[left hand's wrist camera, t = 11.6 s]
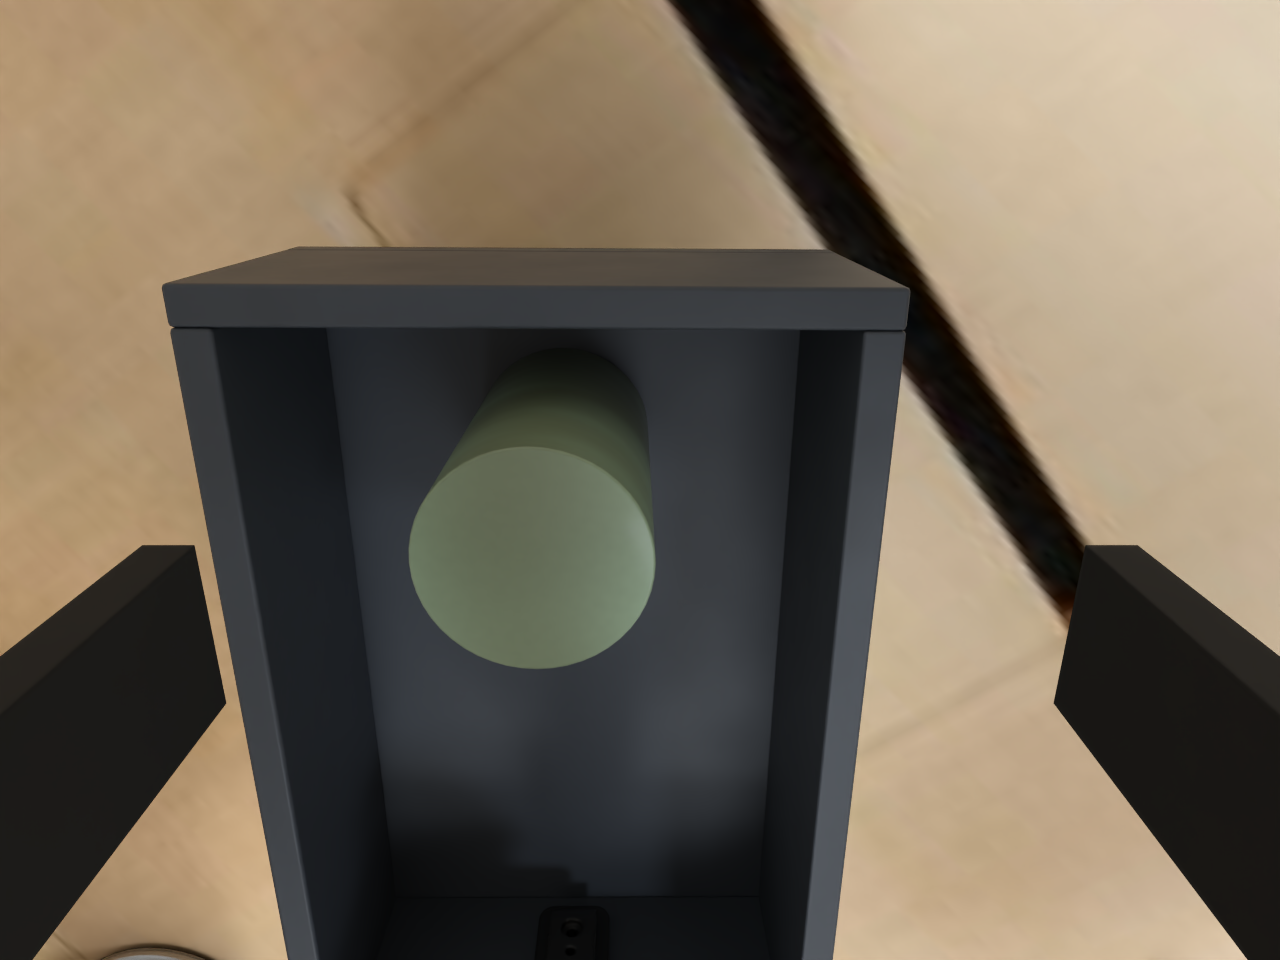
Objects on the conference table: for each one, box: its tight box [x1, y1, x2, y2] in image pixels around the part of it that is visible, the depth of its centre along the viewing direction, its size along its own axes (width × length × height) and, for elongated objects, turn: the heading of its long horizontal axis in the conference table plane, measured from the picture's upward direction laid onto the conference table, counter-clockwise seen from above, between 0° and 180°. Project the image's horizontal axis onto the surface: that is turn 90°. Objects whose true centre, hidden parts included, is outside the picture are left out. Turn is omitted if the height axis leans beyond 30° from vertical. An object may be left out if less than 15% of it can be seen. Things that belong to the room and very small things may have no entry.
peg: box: [409, 348, 656, 669], centre depth 19 cm, size 4×4×8 cm
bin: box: [162, 247, 910, 960], centre depth 22 cm, size 14×22×7 cm, turn 0°
